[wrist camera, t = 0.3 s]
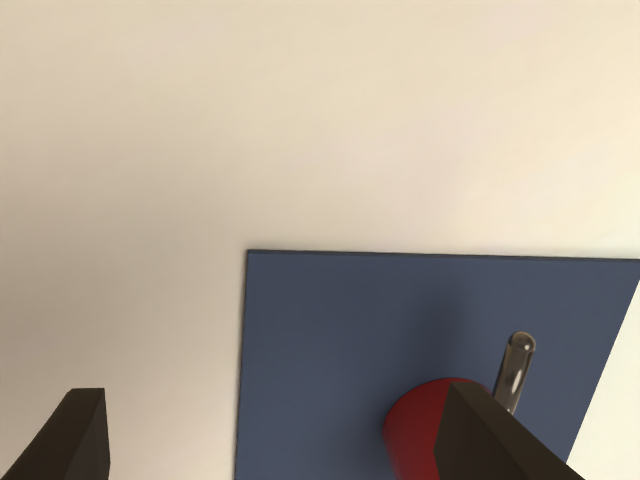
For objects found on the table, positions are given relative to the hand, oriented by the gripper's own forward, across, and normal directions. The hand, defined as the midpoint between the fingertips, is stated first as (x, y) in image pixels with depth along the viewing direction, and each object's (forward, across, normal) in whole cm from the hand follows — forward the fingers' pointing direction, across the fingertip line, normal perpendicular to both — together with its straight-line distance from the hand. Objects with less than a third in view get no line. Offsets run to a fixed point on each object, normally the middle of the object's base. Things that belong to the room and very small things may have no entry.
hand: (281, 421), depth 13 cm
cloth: (+10, -8, +10) cm, 16 cm away
